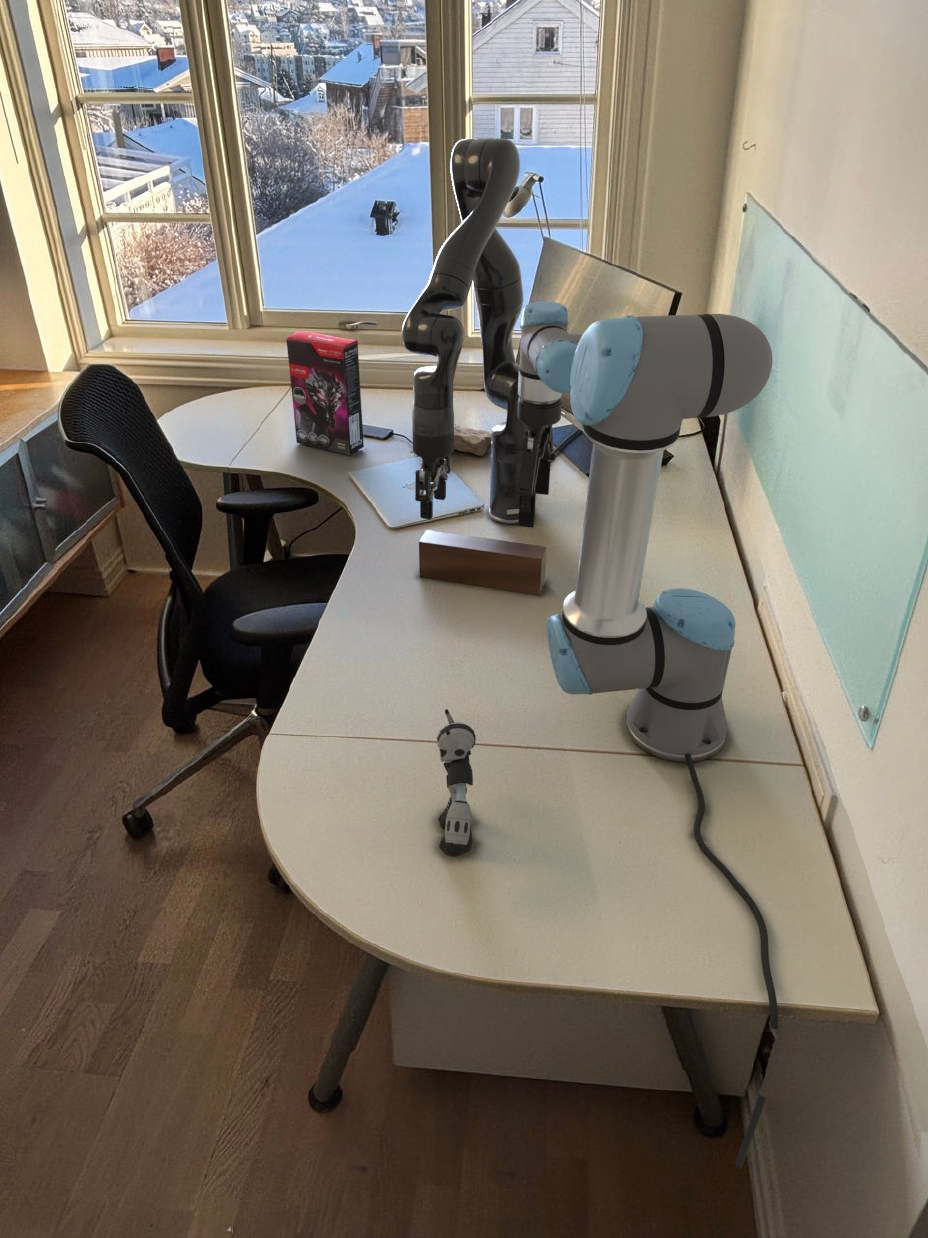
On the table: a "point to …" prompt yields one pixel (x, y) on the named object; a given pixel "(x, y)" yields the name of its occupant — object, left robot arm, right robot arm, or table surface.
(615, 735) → the table surface
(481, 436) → the stone
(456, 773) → the robot
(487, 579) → the walnut beam
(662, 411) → the right robot arm
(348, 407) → the graphics card box
